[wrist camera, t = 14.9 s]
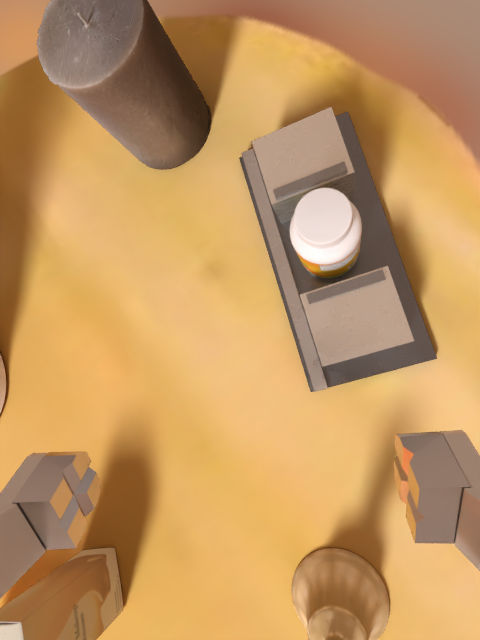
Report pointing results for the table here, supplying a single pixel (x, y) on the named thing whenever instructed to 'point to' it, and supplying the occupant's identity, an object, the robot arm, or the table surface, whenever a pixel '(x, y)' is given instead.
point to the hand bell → (340, 596)
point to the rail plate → (356, 284)
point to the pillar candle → (125, 77)
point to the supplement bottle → (326, 232)
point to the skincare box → (67, 601)
